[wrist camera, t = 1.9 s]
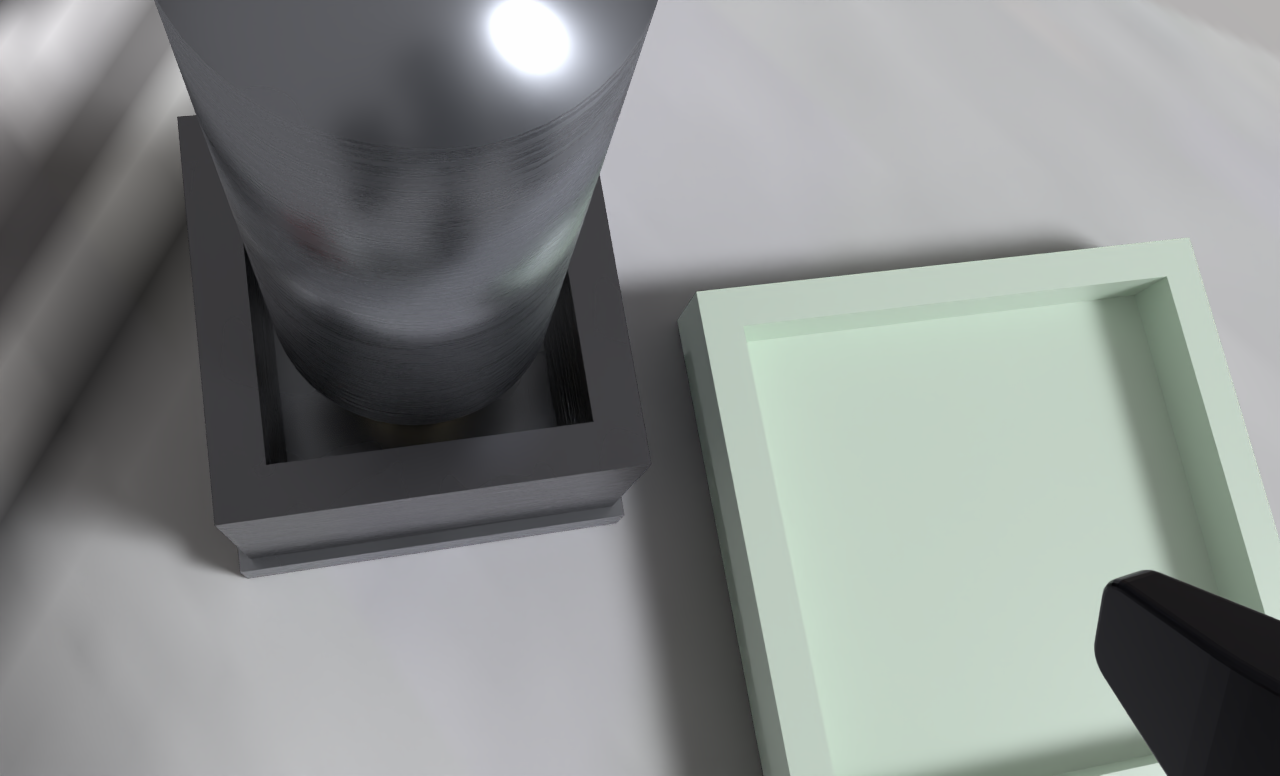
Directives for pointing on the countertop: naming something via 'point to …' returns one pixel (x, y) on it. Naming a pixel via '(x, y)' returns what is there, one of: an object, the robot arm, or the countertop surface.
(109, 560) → the countertop surface
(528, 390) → the base
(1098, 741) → the tray
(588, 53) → the grey cylinder in socket
